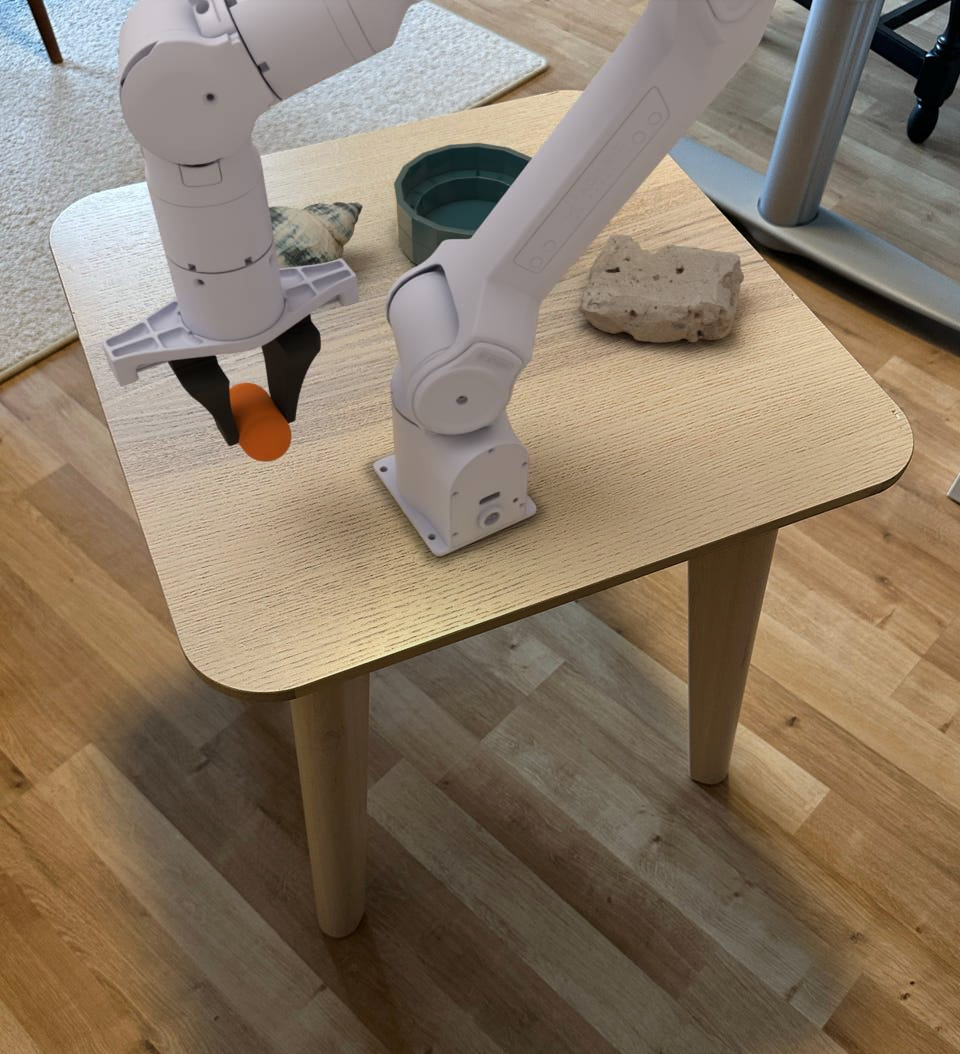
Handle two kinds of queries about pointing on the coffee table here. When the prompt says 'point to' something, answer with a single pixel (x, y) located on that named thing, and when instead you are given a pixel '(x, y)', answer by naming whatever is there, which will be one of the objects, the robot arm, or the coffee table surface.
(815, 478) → the coffee table surface
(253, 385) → the orange capsule pill
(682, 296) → the stone
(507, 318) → the robot arm
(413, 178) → the bowl
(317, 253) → the seashell
